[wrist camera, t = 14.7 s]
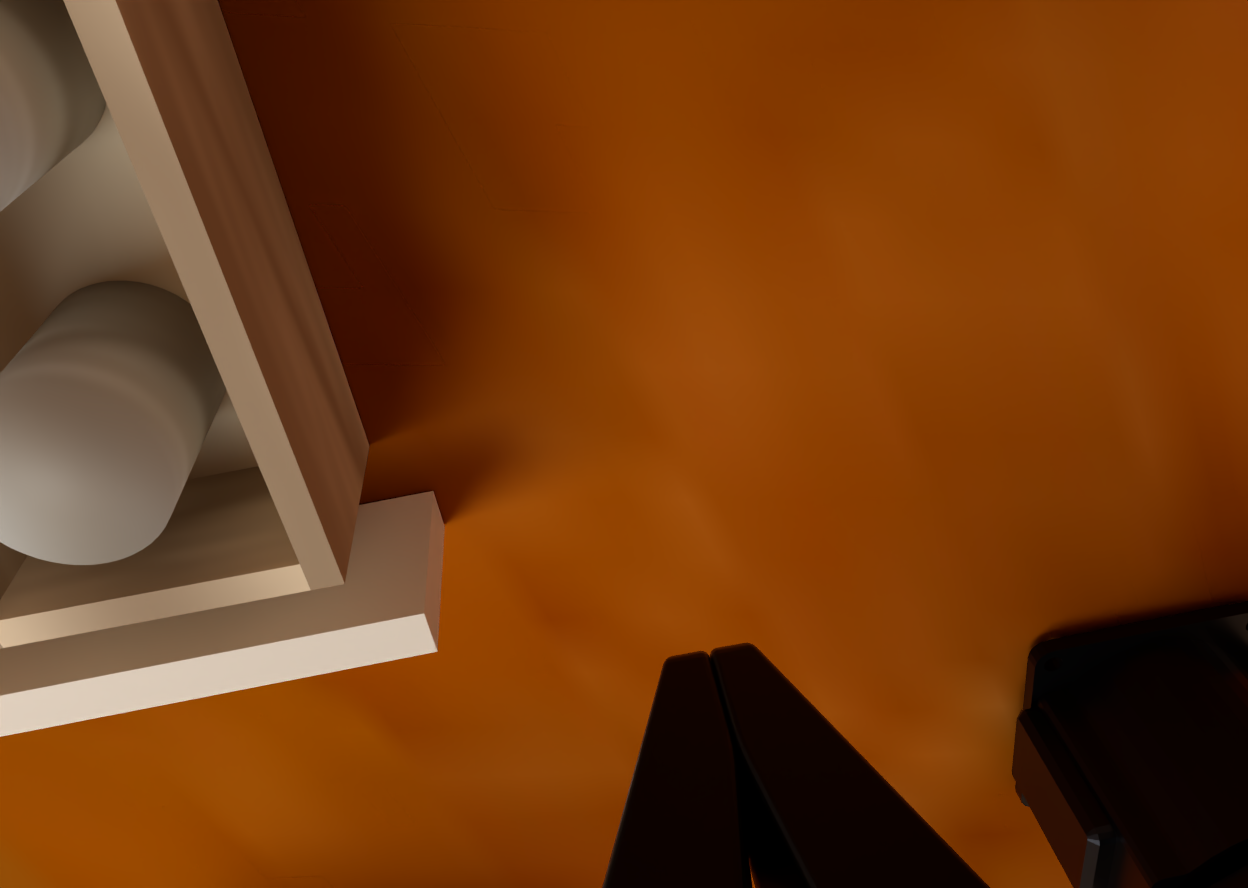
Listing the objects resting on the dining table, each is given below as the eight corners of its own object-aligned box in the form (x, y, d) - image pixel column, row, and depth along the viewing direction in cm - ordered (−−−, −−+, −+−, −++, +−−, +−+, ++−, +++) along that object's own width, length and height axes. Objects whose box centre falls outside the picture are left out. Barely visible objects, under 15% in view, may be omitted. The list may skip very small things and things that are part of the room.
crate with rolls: (140, -227, 15) (3, -239, 11) (369, 445, 21) (341, 603, 17) (-308, -149, 15) (-626, -131, 10) (60, 503, 21) (-44, 675, 17)
